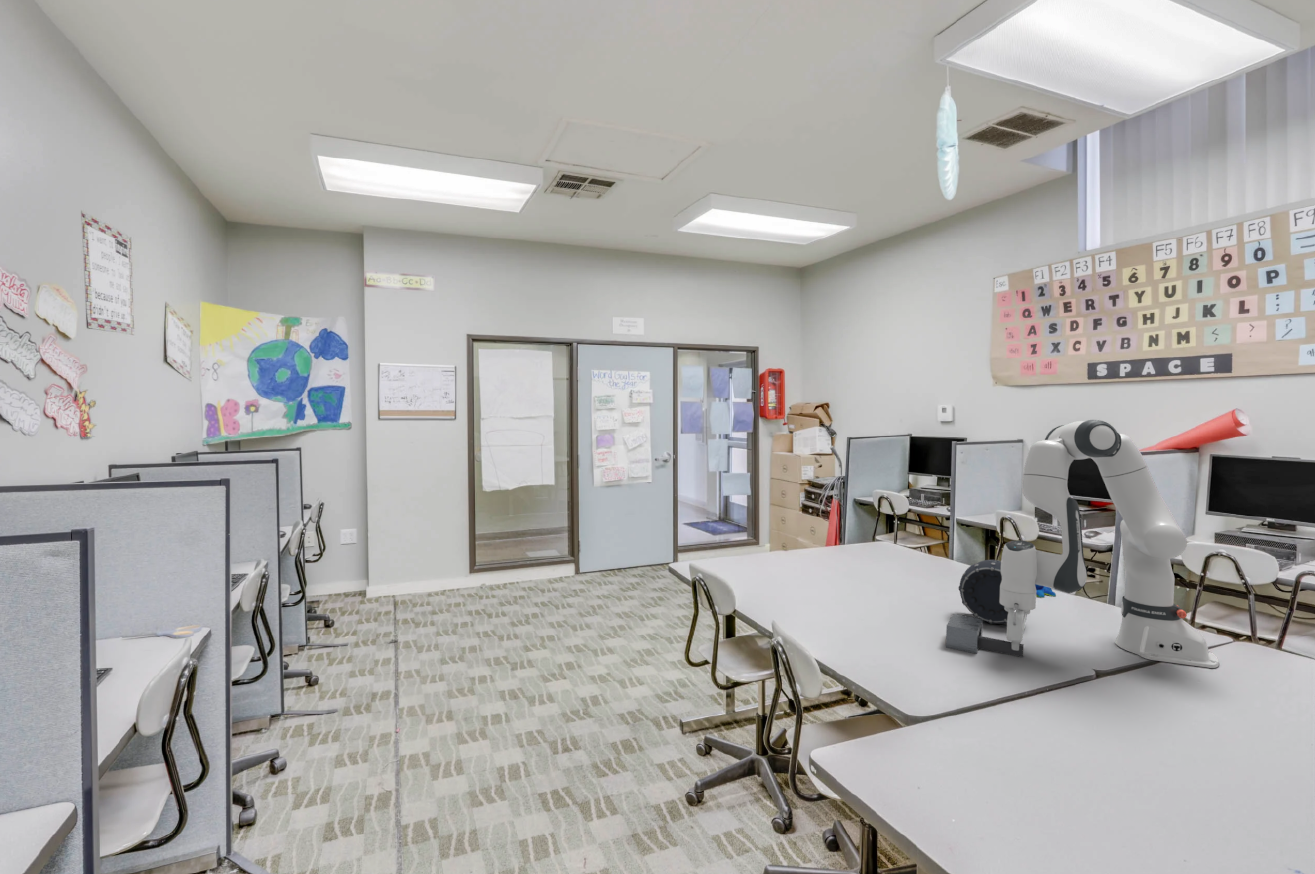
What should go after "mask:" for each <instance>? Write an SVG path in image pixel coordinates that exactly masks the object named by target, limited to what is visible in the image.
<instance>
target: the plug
mask: <svg viewBox="0 0 1315 874" xmlns="http://www.w3.org/2000/svg"><path fill="white" fill-rule="evenodd" d="M1024 645H1025V644H1024V643H1019V650H1018V651H1016V650H1013V649H1012V642H1011V641H1008V640H1004V639H998V638H992V637H989V636H988V637H987V636H983V635H982V636H979V641H978V649H979V650H980V649H981V650H985V651H991V652H996V653H1000V654H1006V655H1010V656H1014V657H1015V656H1016V657H1021V658H1023V657H1024V647H1025V646H1024Z"/></svg>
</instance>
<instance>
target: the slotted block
mask: <svg viewBox="0 0 1315 874" xmlns="http://www.w3.org/2000/svg"><path fill="white" fill-rule="evenodd" d="M983 622H984V620H983V619H980V618H976V617H974V616H969V615H968V616H967V615H963V614H956V613H953V614H952V615H951V617H950V619H949V621H948V623H947V624H946V630H945V633H946V635H945V637H946V639H945V641H946V642H945V648H947V649H951V648H952V649H951V650H956V649H957V651H960V652H961V651H962V652H966V653H967V652H968V653H970V654H971V653H972V654H978V652H979V648H978V641H979V636H983Z"/></svg>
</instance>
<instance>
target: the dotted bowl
mask: <svg viewBox="0 0 1315 874" xmlns="http://www.w3.org/2000/svg"><path fill="white" fill-rule="evenodd" d="M1001 581H1002V575H1001V560H996V559H986V560H982V561H978V562H976V563H973V564H971V565H970V566H969V567H968V568H967V569H966V570H965V571H964V572H963V573H962V576H961V579H960V582H959V586H958V590H959V595H960V598H961V603H962V604H961V605H963V606H965V608H966V609H967V610H968V611H969V612H970V613H971V614H972V617H974V618H980V619H983V622H987V623H988V624H990V625H994V624H999V625H1000V624H1007V616H1008V612H1007V611H1006V610H1005V609H1004V606H1003V605H1001V604H1000V602H999V599H1000V584H1001Z"/></svg>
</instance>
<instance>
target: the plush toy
mask: <svg viewBox="0 0 1315 874" xmlns="http://www.w3.org/2000/svg"><path fill="white" fill-rule="evenodd" d="M1035 587H1036V598H1037V597H1038V598H1040V599H1041V598H1045V597H1046V596H1050V597H1056V596H1057V594H1056V592H1054V590H1053V588H1050V587H1045V586H1041V585H1037V584H1035ZM1045 595H1046V596H1045Z"/></svg>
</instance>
